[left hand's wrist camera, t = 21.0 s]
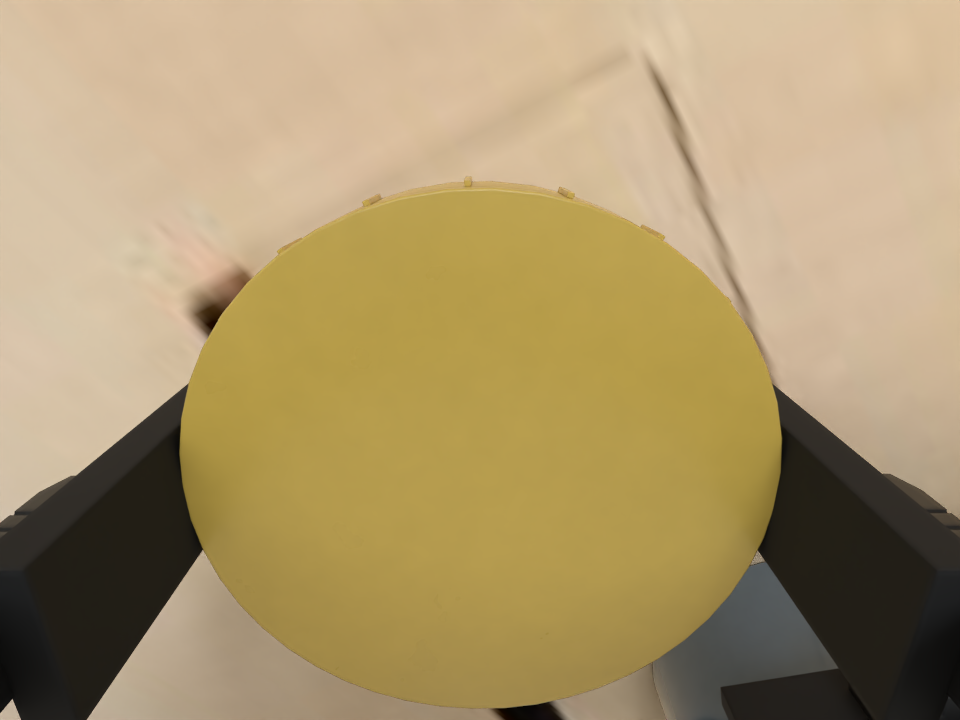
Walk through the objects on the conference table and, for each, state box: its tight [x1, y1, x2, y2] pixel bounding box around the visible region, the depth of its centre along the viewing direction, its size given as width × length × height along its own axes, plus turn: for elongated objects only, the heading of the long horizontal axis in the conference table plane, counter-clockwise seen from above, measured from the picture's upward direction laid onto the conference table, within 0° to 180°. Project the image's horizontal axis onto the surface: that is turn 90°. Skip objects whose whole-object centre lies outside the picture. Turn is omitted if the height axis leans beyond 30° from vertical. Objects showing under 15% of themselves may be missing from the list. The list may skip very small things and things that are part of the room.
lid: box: [179, 177, 782, 709], centre depth 11 cm, size 11×11×2 cm
